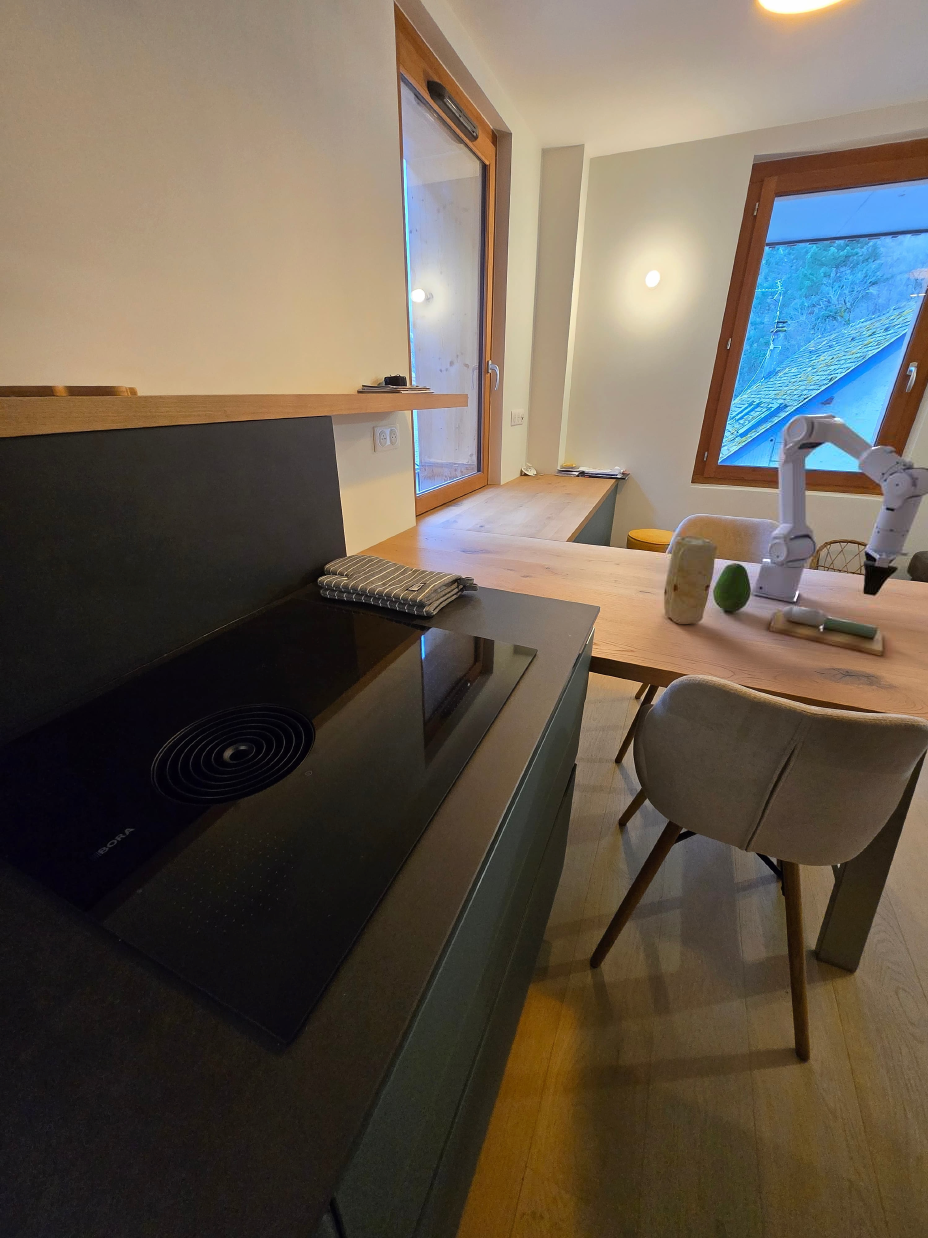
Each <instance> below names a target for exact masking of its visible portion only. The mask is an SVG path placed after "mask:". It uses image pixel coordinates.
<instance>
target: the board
mask: <svg viewBox="0 0 928 1238" xmlns="http://www.w3.org/2000/svg"><path fill="white" fill-rule="evenodd" d="M782 611H783V609H778V608H777V609H776V612H775V614H774V616H773V619H772V622H771V624H770V626H769V627H770V628H769V631H770V632H773V633H774V632H775V633H778V634H782V635H787V636H792V637H795V638H796V637H797V638H801V639H805V640H808V641H809V640H810V641H813V642H818V643H823V644H827V645H832V646H836V647H839V648H845V649H849V650H854V651H858V652H863V653H867V654H871V655H876V656H881V655H882V653H883V630H881V629H878V630H877V633H876V636H875V638H874V639H872V638H867V637H863V636H858V635H853V634H849V633H844V632H839V631H835V630H830V629H825V628H823V626H824V625H823V626H820V627H815V626H810V625H806V624H801V623H796V622H792V621H788V620H786V619H784V617H783V615H782Z"/></svg>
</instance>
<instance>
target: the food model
mask: <svg viewBox="0 0 928 1238" xmlns="http://www.w3.org/2000/svg"><path fill="white" fill-rule="evenodd" d="M717 549H718V545H717V544H716V543H715V542H713V541H711V540H708V539H705V538H703V537H701V536H700V537H699V536H696V535H684V536H679V537H678V536H677V538H675V540H674V543H673V547H672V551H671V553H670V557H669V563H668V568H667V573H666V578H665V584H664V592H663V609H664V614H665V616H666V617H668V618H670V619H671V620H672V621H673V622H674V623H676V624H679V625H689V624H690V625H691V624H698V623H701V622H702V621H703V618H704V613H705V609H706V606H707V602H708V600H709V599H708V598H709V594H710V589H711V584H712V580H713V575H714V570H715V561H716V560H715V559H716V554H717Z"/></svg>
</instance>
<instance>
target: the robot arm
mask: <svg viewBox="0 0 928 1238" xmlns="http://www.w3.org/2000/svg"><path fill="white" fill-rule="evenodd" d="M781 432H782V442H781V445H780V448H779V451H778V456H777V457H778V459H777V462H778V463H777V464H778V466H777V467H778V517H779V518H778V519H779V520H778V522H779V526H778V527H777V528H776V529H775V530H774V531H773V532H772V533H771V534H770V542H769V545H768V548H767V556H768V558H769V559H767V558H764V559H763V560H762V562H761V565H760V569H759V571H758V576H757V578H756V581H755V584H754V585H755V588H754V591H753V595H754V596H759V597H763V598H764V597H765V598H770V599H775V600H778V601H779V600H780V601H784V602H789V603H796V602H797V599H798V596H799V594H800V592H799V590H798V589H799V586H800V583H801V579H802V577H803V576H802V575H803V572H804V570H805V565H806V564H807V563H808V560H810V559H812V558H813V557H814V556H815V555H816V552H817V551H818V550H817V549H818V545H817V541H816V539H815V538H814V531H813V529H812V528H811V527H810V526H809V525H808V524H807V520H806V519H807V517H806V516H807V513H806V504H807V503H806V500H807V499H806V459H807V458H808V457H809V456H810V454H811V453H813V452H814V451H815V450H816V449H818V448H820V447H822V446H823V445H825V444H826V443H829V444H831V445H833V446H835V447H836V448H838V449H839V450H841V451H842V452H844V453H845V454H847V455H849V456H850V457H852V458H854V459H855V460H857V461H858V465H857V468H858V470H859V471H861V472H862V473H863V474H865V475H866V476H867V477H869V478H870V479H871V480H873V481H874V482H875V483H877V484H878V485H879V486H881V492H882V494H883V499H882V505H881V508H880V510H879V514H878V516H877V519H876V522H875V525H874V528H873V530H872V533H871V536H870V539H869V541H868V544H867V545H866V547H865V550H864V552H863V553H864V557H865V560H863V568H864V576H863V577H864V578H863V588H862V589H863V591H862V593H863V595H867V596H873V597H876V595H878V593H879V592H880V591H881V589H882V587H883V586H884V584H885V583H886V582H887V580H888V579H889V578H890V577H891V576H892V575H894V574H895V573H896V572H898V567H899V566H895V565H891V563H892V562H893V561H895V560H896V559H897V558H899V557H902V556H903V557H908V556H909V554H910V552H909V551H908V550H905V549H904V547H905V544H906V541H907V540H908V539H907V538H908V536H909V534H910V531H911V528H912V527H913V524H914V521H915V518H916V516H917V513H918V511H919V507H920V506H921V502H922V500H923V497H924V496H927V495H928V467H923V466H921V467H915V462H913V461H912V460H906V459H904V458H902V457H901V456H899V455H898V454H897V453H895V452H896V448H894V447H893V446H885V445H879V446H876V447H874V445H872V444H871V443H869V442H868V441H866V440H865V439H864V438H863V437H861V436H860V435H859V434H858V433H857V432H855V431H854V430H853V429H852V428H850V427H849V426H848V425H847V424H846V423H845V421H844V420H843V419H841V418H838V417H837V416H836V415H835V414H832V413H824V414H809V415H807V414H799V415H796V416H793V417H792V418H791V419H790V420H789V422H787V423H786V424H785V426H784V427H783V428H782V431H781Z"/></svg>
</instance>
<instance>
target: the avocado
mask: <svg viewBox="0 0 928 1238" xmlns="http://www.w3.org/2000/svg"><path fill="white" fill-rule="evenodd" d="M751 592H752V588H751V582H750V577H749V574H748V570H747V569H746V567H745V566H743V564H741V563H738V562H737V563H736V562H733V563H730V564H727V565H726V566H725V567H724V569H723V570H722V572H721V574H720V575H719V577H718V580H717V581H716V583H715V585H714V587H713V590H712V594H713V600H714V602H715V603H716V605H717V606H718V608H720V609H721V610H724V611H727V612H738V611H740V610H742V609H743V608H744V607H746V605H747V603H748V601H749V600H750V598H751Z"/></svg>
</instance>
